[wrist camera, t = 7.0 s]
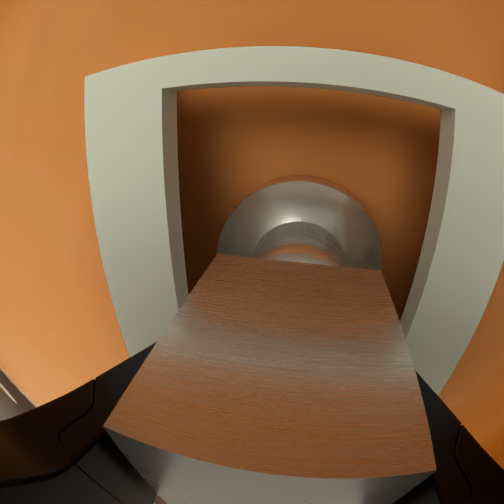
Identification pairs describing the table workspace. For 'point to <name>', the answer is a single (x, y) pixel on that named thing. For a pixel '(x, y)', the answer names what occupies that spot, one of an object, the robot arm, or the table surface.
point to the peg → (282, 367)
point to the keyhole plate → (306, 76)
